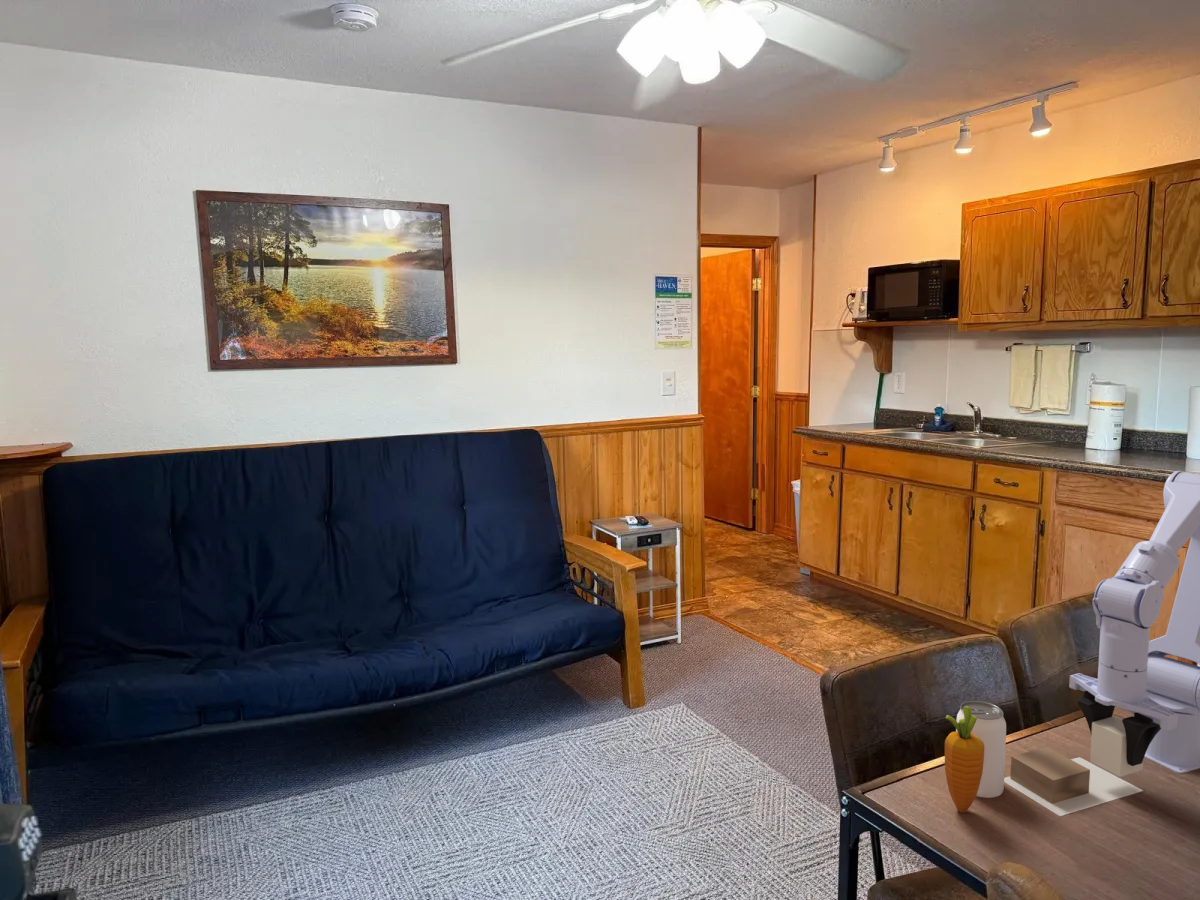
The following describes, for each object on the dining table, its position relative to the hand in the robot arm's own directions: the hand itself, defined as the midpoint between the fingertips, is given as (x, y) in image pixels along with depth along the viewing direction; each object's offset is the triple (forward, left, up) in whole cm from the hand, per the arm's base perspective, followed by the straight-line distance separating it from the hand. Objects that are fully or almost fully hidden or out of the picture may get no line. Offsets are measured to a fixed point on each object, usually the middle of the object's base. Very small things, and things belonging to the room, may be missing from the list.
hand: (1117, 754), depth 113 cm
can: (+17, -8, -6) cm, 20 cm away
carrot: (+24, -4, -6) cm, 25 cm away
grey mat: (+5, -3, -5) cm, 8 cm away
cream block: (0, 0, -2) cm, 2 cm away
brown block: (+8, -4, -5) cm, 10 cm away
